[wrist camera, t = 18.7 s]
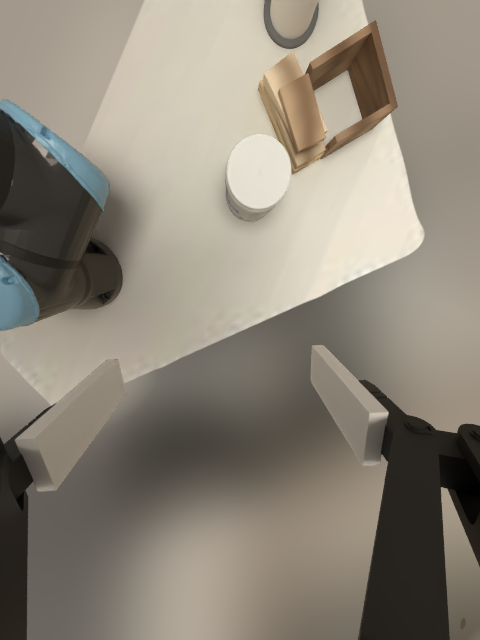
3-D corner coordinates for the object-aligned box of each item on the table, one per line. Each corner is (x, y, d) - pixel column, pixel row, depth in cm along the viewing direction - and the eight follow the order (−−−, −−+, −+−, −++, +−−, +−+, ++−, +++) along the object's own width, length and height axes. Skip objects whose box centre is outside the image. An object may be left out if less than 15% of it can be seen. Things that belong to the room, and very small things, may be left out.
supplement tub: (217, 187, 44) (210, 158, 30) (257, 158, 43) (270, 113, 29) (243, 231, 47) (248, 223, 33) (282, 205, 46) (304, 184, 32)
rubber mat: (264, 49, 38) (264, 47, 38) (263, -24, 36) (263, -28, 35) (316, 47, 39) (317, 44, 38) (318, -26, 36) (319, -30, 36)
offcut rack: (291, 176, 44) (302, 162, 38) (257, 90, 40) (262, 57, 33) (371, 129, 42) (397, 106, 36) (343, 34, 38) (367, -12, 32)
